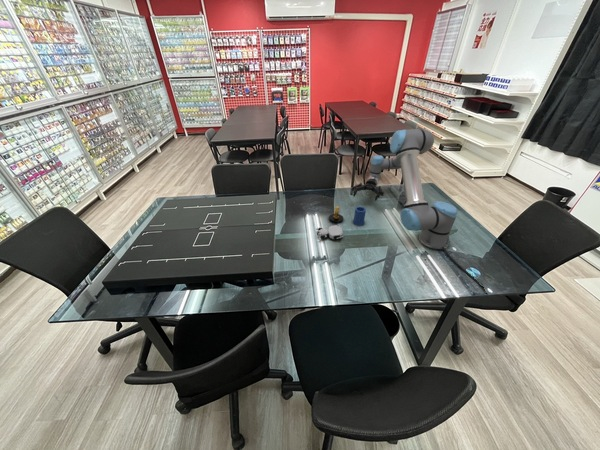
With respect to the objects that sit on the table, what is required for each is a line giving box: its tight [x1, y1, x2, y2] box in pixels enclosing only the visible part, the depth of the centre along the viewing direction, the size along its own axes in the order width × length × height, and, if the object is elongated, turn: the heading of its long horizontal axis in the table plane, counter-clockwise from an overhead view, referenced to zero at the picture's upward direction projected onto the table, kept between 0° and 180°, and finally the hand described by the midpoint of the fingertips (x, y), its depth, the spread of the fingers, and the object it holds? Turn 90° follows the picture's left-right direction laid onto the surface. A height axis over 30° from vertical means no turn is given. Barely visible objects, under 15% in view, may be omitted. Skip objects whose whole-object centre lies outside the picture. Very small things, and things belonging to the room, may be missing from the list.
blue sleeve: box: [353, 206, 367, 227], centre depth 153 cm, size 6×6×10 cm
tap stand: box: [328, 205, 344, 225], centre depth 156 cm, size 9×9×10 cm
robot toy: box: [315, 223, 344, 241], centre depth 143 cm, size 12×4×15 cm
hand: (364, 196), depth 155 cm, fingers open, 13 cm apart
